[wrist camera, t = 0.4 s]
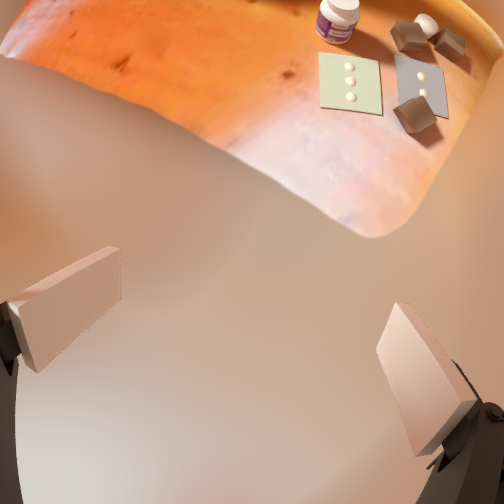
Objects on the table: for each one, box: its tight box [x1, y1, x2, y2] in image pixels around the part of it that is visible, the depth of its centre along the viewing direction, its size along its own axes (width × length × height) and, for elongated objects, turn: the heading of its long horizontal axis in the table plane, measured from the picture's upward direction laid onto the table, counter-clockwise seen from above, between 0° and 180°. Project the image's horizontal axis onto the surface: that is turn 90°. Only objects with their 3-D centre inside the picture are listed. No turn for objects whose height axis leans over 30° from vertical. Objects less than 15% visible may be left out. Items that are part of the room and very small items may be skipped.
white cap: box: [413, 14, 439, 39], centre depth 25 cm, size 4×4×3 cm
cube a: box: [390, 21, 429, 52], centre depth 26 cm, size 4×4×4 cm
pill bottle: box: [316, 0, 360, 44], centre depth 25 cm, size 5×5×10 cm
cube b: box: [434, 27, 465, 62], centre depth 25 cm, size 4×4×4 cm
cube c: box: [393, 95, 438, 133], centre depth 29 cm, size 4×4×4 cm
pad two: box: [394, 54, 448, 118], centre depth 29 cm, size 9×9×1 cm
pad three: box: [318, 52, 382, 115], centre depth 31 cm, size 9×9×1 cm
